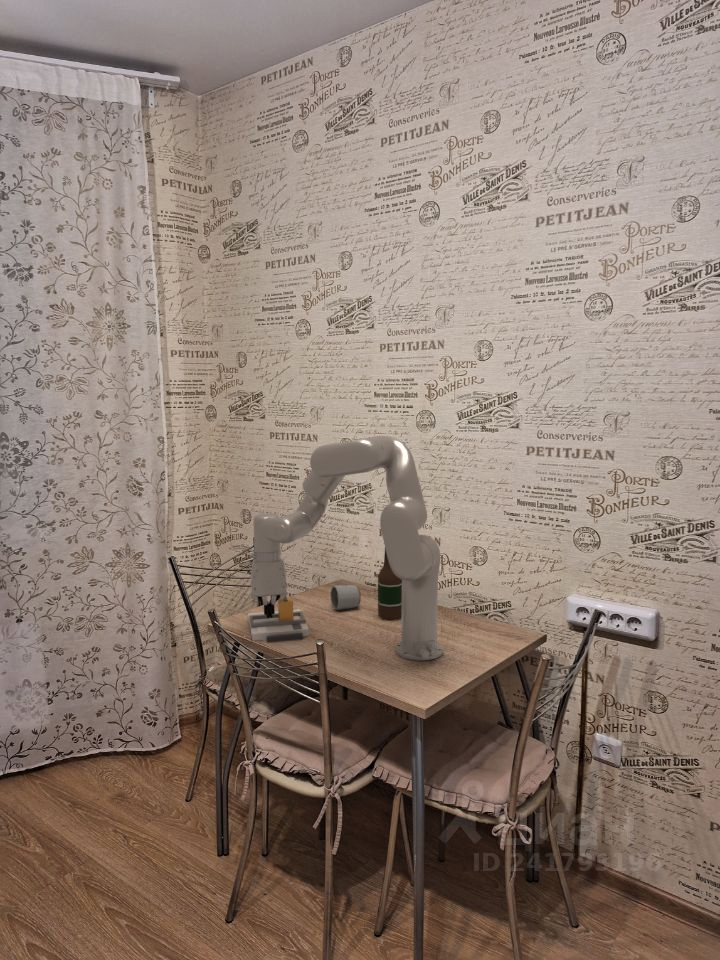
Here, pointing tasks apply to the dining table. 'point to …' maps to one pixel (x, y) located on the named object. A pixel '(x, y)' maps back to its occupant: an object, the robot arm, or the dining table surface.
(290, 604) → the orange upright block
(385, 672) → the dining table surface
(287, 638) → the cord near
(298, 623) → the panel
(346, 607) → the ceramic mug
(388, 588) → the beer bottle
